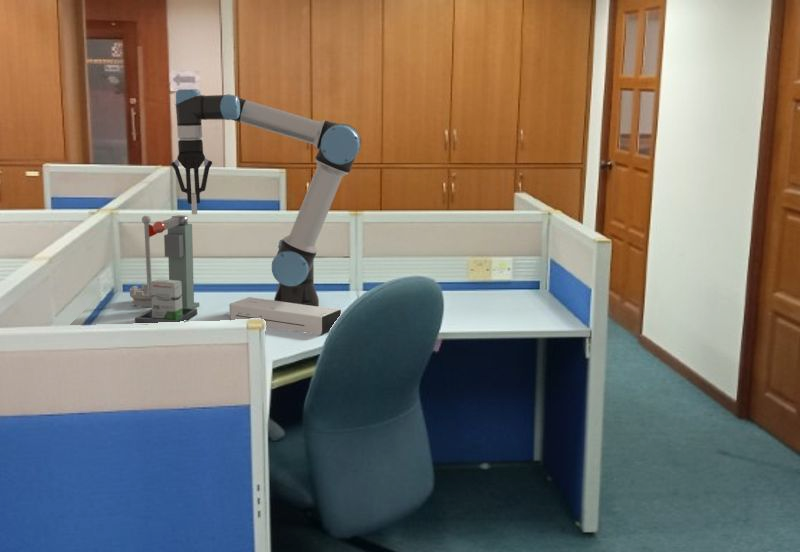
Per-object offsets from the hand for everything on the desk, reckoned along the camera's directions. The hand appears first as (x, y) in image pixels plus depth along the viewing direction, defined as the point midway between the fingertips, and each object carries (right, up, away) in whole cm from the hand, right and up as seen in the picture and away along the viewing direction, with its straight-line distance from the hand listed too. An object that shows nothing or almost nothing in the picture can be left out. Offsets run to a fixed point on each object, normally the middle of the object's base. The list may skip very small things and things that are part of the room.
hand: (194, 213), depth 295 cm
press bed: (-9, -34, -1) cm, 35 cm away
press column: (-7, -31, +12) cm, 34 cm away
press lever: (-8, -5, 0) cm, 9 cm away
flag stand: (-19, -29, +19) cm, 40 cm away
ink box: (-8, -33, -1) cm, 34 cm away
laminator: (+30, -36, -4) cm, 47 cm away
